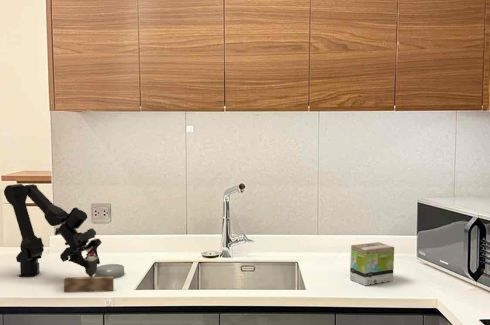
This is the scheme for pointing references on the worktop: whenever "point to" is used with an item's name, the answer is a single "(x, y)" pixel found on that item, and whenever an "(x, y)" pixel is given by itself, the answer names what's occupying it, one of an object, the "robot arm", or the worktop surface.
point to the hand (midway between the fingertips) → (93, 265)
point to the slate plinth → (110, 271)
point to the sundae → (91, 263)
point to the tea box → (371, 263)
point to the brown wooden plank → (88, 284)
